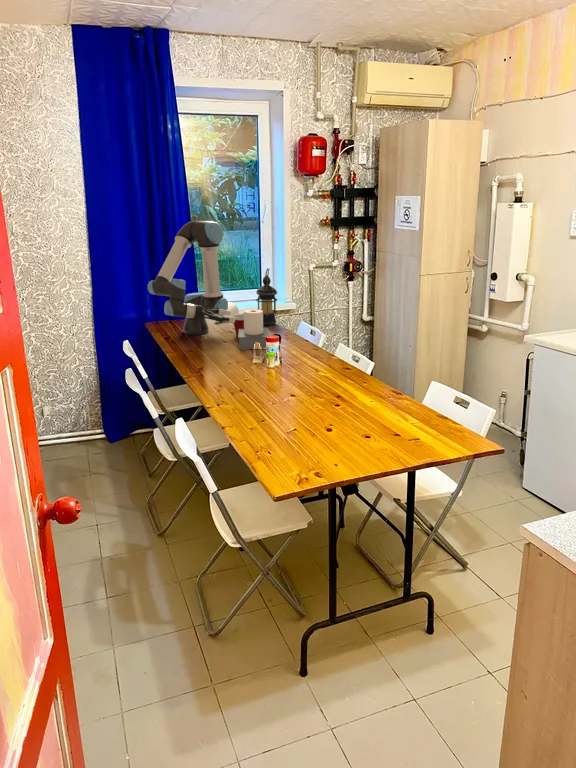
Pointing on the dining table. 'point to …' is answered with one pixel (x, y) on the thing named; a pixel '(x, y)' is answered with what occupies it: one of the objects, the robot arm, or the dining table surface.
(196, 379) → the dining table surface
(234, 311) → the rocket engine
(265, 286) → the lantern
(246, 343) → the grey box
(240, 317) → the plastic cup
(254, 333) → the toilet paper
